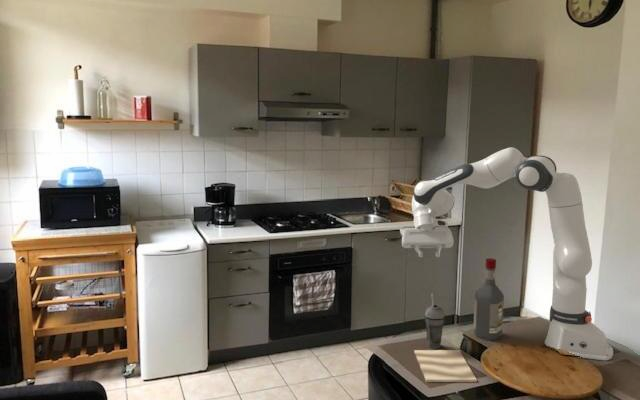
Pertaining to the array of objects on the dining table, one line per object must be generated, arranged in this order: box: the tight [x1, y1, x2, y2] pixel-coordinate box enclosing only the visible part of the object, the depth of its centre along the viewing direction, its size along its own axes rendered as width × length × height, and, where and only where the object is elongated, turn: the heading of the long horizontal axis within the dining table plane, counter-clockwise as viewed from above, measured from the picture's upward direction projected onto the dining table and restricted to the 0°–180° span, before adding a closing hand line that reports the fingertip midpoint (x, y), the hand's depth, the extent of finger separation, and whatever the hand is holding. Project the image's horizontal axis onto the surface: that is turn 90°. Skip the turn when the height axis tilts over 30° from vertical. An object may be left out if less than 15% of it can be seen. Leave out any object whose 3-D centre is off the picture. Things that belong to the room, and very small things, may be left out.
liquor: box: [473, 258, 505, 341], centre depth 208 cm, size 9×9×30 cm
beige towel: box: [413, 349, 478, 383], centre depth 185 cm, size 22×16×1 cm
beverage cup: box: [424, 293, 446, 350], centre depth 199 cm, size 7×7×20 cm
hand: (429, 256), depth 213 cm, fingers open, 5 cm apart
